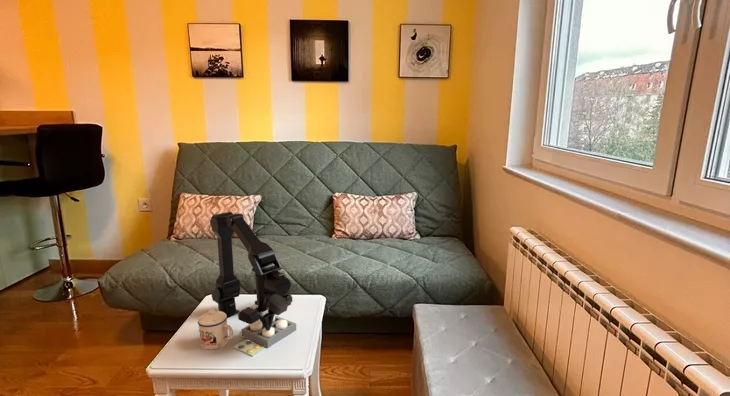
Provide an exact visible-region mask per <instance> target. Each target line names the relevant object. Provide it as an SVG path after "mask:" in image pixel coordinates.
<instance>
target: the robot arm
mask: <svg viewBox="0 0 730 396" xmlns="http://www.w3.org/2000/svg"><path fill="white" fill-rule="evenodd" d="M209 224H210V225H209V226H210V227H211V231H212V232H213V234H214V235H215V236H216V240H217V254H218V268H219V275H218V277H217V278H216V281H215V289H213V291H212V293H211V298H212V301H213V302H215V303H217V308H218V311H222V312H224V313H225V314H226V315H227V319H229V318H230V317H232V316H234V315H236V314H237V317H238V321H241V322H243V323H246V324H248V325H250V324H252V323H254V322H256V321H258V320H259V319H260V321H261V322H262V324H263V326H264V327H265V329H266V330H267V331H269V330H270V328H271V325H272V321H273V318H274V316H280V315H282V314H283V313H284V312H287V311H288V307H289V306H292V303H293V296H292V294H291V293H289V291H290V289H291V286H292V282H291V281H290V279H289V278H288V277H286V276H285V275H286V274H285V273H284V272H281V270H283V267H282V263H281V261H280V259H279V258H278V256H277V253H276V252H275V250H274V249H273V248H272V247H271V246H270V245H269V244H268V243H266V242H263V241H261V240H260V239H259V237H258V236H257V235H256V233H255V231H254V230H253V228H251V227H250V225H249V224H248V222H247V221H246V220H245V216H244V215H243V214H242V213H241V212H239V213H233V212H232V211H226V212H221V213H215V214H213V215H212V216H211V217H210V219H209ZM234 234H236V237H237V238H238V239H239V240H240V242H241V243H242V245H243V246H244V248H245V249H246V250H247V258H248V261H249V263H250V265H251V267H252V268H251V271H252V272H254V278H255V289H253V293H254V294H256V300H254V305H255V306H257V307H255V308H252V307H250V306H248V307H246V308H243V309H241V310H239V309H237V306H236V305H237V304H236V299H235V298H237V297H240V292H241V283H240V282H241V280H240V279H239V278H238V277H237V276H236V275H235V271H234V254H233V253H234V252H233V235H234Z"/></svg>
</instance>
